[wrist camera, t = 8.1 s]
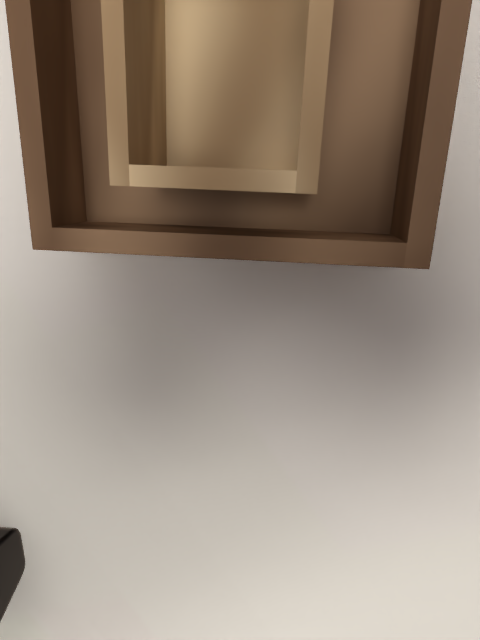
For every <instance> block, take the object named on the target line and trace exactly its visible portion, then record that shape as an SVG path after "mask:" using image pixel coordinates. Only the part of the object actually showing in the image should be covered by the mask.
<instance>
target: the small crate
mask: <svg viewBox="0 0 480 640" xmlns="http://www.w3.org/2000/svg"><path fill="white" fill-rule="evenodd" d="M333 5H334V0H101V14H102V34H103V55H104V75H105V96H106V117H107V137H108V158H109V179H110V185H111V186H135V187H159V188H183V189H206V190H230V191H254V192H278V193H301V194H317V189H318V177H319V166H320V154H321V143H322V131H323V120H324V108H325V97H326V86H327V74H328V63H329V51H330V40H331V28H332V17H333Z"/></svg>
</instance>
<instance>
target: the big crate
mask: <svg viewBox="0 0 480 640" xmlns="http://www.w3.org/2000/svg"><path fill="white" fill-rule="evenodd" d="M471 4H472V0H334V5H333V17H332V28H331V40H330V51H329V63H328V74H327V86H326V97H325V108H324V120H323V131H322V143H321V154H320V166H319V177H318V189H317V194H301V193H278V192H254V191H230V190H206V189H183V188H159V187H135V186H111V185H110V179H109V158H108V137H107V117H106V96H105V75H104V55H103V34H102V14H101V0H5V5H6V14H7V23H8V32H9V41H10V50H11V59H12V68H13V77H14V85H15V94H16V103H17V112H18V121H19V130H20V139H21V148H22V157H23V166H24V175H25V184H26V193H27V202H28V211H29V220H30V229H31V238H32V247H33V249H34V250H54V251H74V252H94V253H114V254H135V255H155V256H175V257H195V258H215V259H235V260H256V261H276V262H296V263H316V264H336V265H356V266H377V267H397V268H417V269H429V267H430V261H431V255H432V249H433V242H434V236H435V230H436V223H437V217H438V211H439V205H440V198H441V192H442V186H443V180H444V173H445V167H446V161H447V155H448V148H449V142H450V136H451V130H452V123H453V117H454V111H455V105H456V98H457V92H458V86H459V79H460V73H461V67H462V61H463V54H464V48H465V42H466V36H467V29H468V23H469V17H470V11H471Z"/></svg>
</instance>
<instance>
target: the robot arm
mask: <svg viewBox="0 0 480 640" xmlns="http://www.w3.org/2000/svg"><path fill="white" fill-rule="evenodd" d="M24 568H25V557H24V551H23V545H22V540H21V534H20V532H19V530H18V529H16V528H6V527H0V621H1V619H2V617H3V615H4V613H5V611H6V609H7V607H8V604H9V602H10V600H11V598H12V596H13V594H14V592H15V589H16V587H17V585H18V583H19V581H20V579H21V577H22V574H23V571H24Z"/></svg>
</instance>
